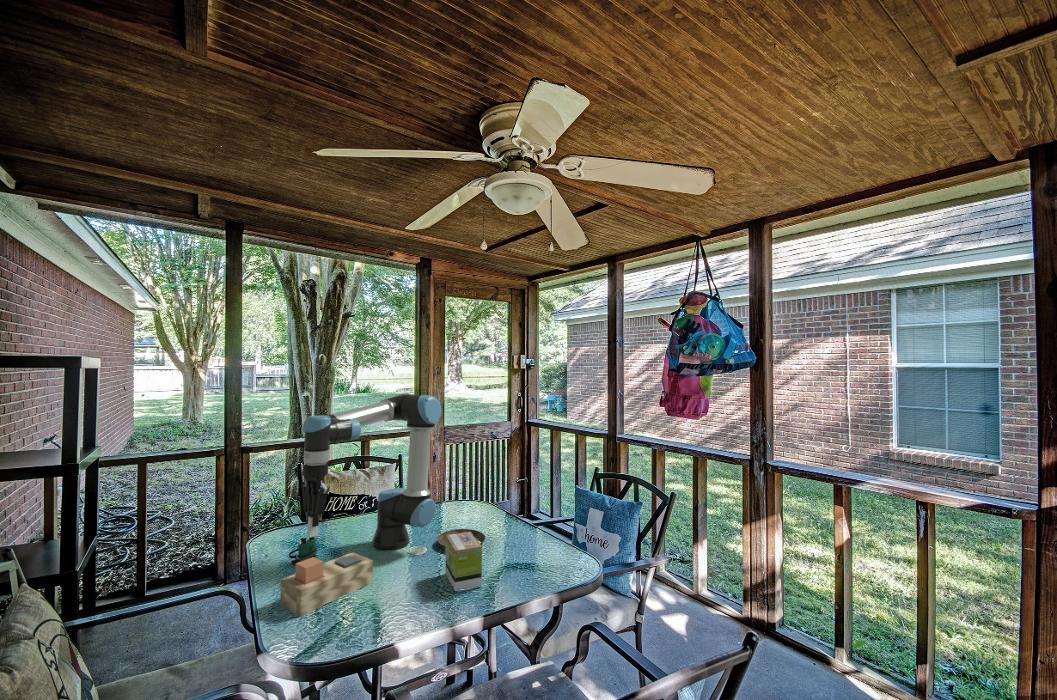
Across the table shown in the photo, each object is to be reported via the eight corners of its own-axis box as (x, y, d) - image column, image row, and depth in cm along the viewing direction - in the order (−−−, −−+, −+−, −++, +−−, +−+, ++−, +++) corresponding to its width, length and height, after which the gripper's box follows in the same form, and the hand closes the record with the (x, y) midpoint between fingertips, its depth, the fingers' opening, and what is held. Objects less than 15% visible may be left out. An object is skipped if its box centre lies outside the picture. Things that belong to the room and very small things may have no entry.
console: (351, 574, 166) (352, 552, 166) (372, 583, 159) (373, 560, 160) (280, 604, 145) (281, 579, 145) (300, 616, 138) (301, 590, 138)
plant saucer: (494, 547, 193) (494, 540, 193) (450, 559, 181) (450, 551, 181) (471, 532, 209) (471, 525, 209) (429, 542, 197) (429, 534, 198)
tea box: (444, 574, 167) (445, 534, 168) (470, 569, 171) (471, 530, 172) (454, 593, 154) (455, 549, 154) (482, 588, 157) (483, 545, 158)
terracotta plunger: (312, 581, 150) (313, 556, 151) (322, 586, 147) (323, 561, 147) (294, 588, 146) (295, 563, 146) (305, 594, 142) (305, 568, 142)
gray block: (349, 577, 162) (350, 555, 162) (359, 582, 159) (360, 559, 159) (334, 584, 157) (334, 561, 157) (344, 589, 154) (345, 565, 154)
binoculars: (298, 531, 181) (320, 531, 179) (299, 558, 181) (321, 558, 179) (282, 539, 172) (304, 539, 171) (283, 567, 172) (306, 568, 170)
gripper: (294, 462, 149) (290, 534, 148) (316, 467, 142) (312, 544, 141) (315, 458, 155) (312, 528, 154) (338, 463, 148) (334, 537, 147)
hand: (312, 535), depth 147 cm, fingers closed
